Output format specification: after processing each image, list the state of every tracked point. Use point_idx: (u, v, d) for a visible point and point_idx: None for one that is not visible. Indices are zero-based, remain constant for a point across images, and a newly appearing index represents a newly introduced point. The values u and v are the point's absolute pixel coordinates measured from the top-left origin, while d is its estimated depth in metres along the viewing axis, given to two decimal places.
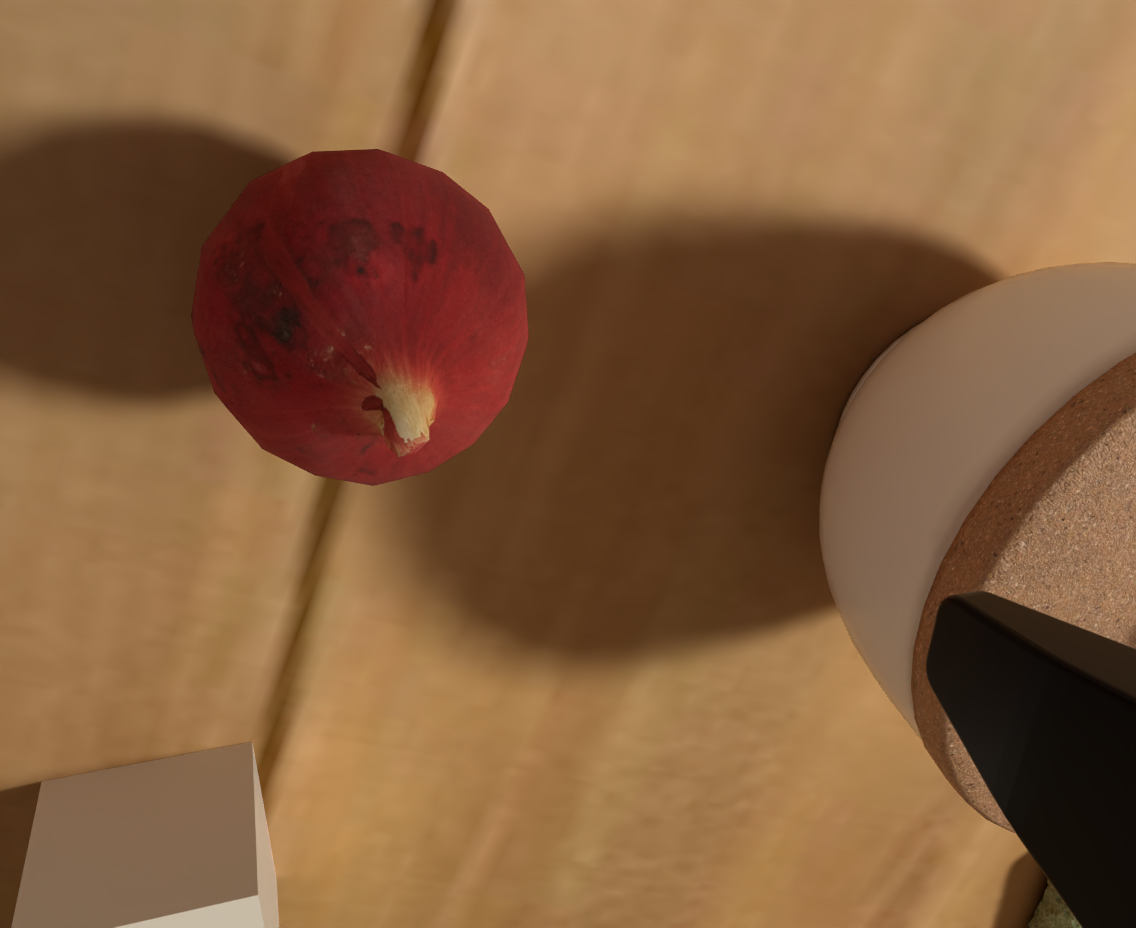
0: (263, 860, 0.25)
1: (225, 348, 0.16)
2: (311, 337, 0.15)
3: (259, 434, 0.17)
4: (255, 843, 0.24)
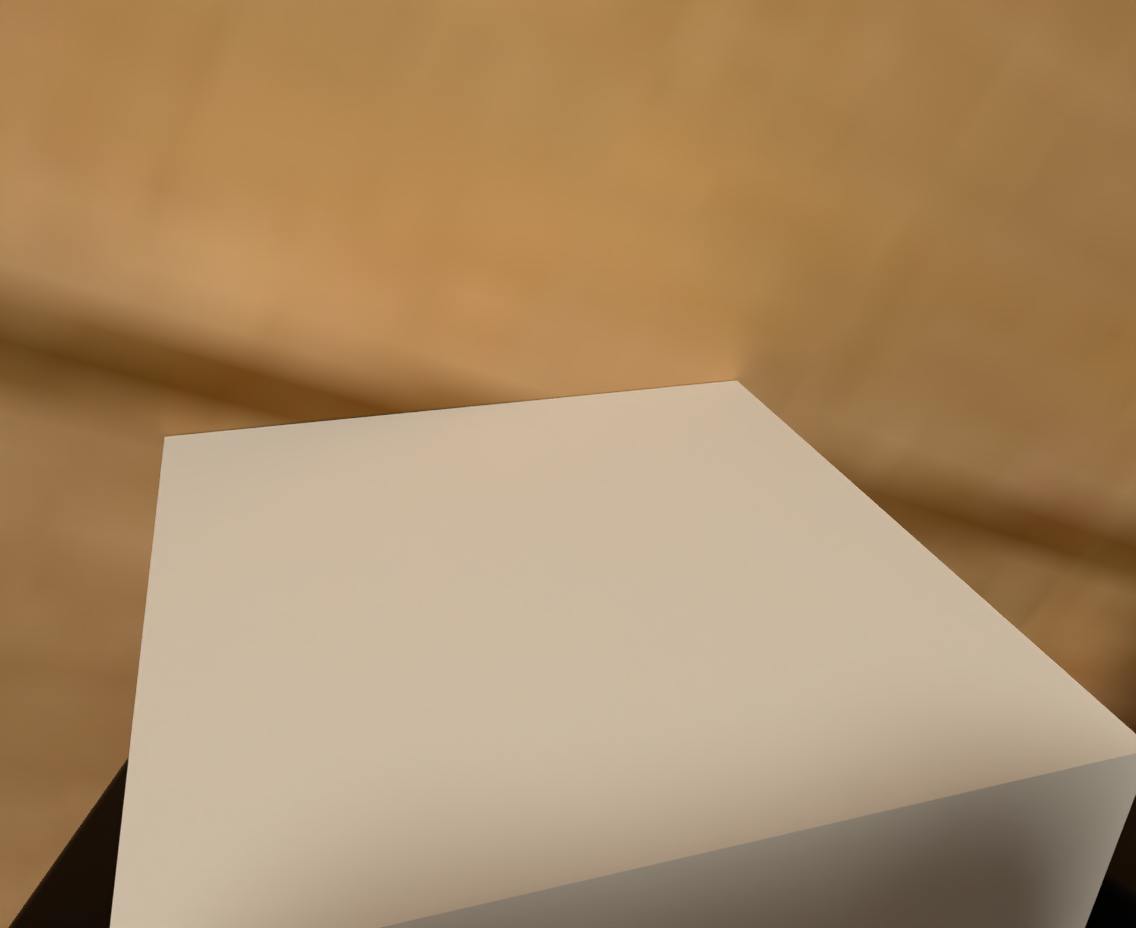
0: (411, 590, 0.06)
1: None
2: None
3: None
4: (137, 732, 0.05)
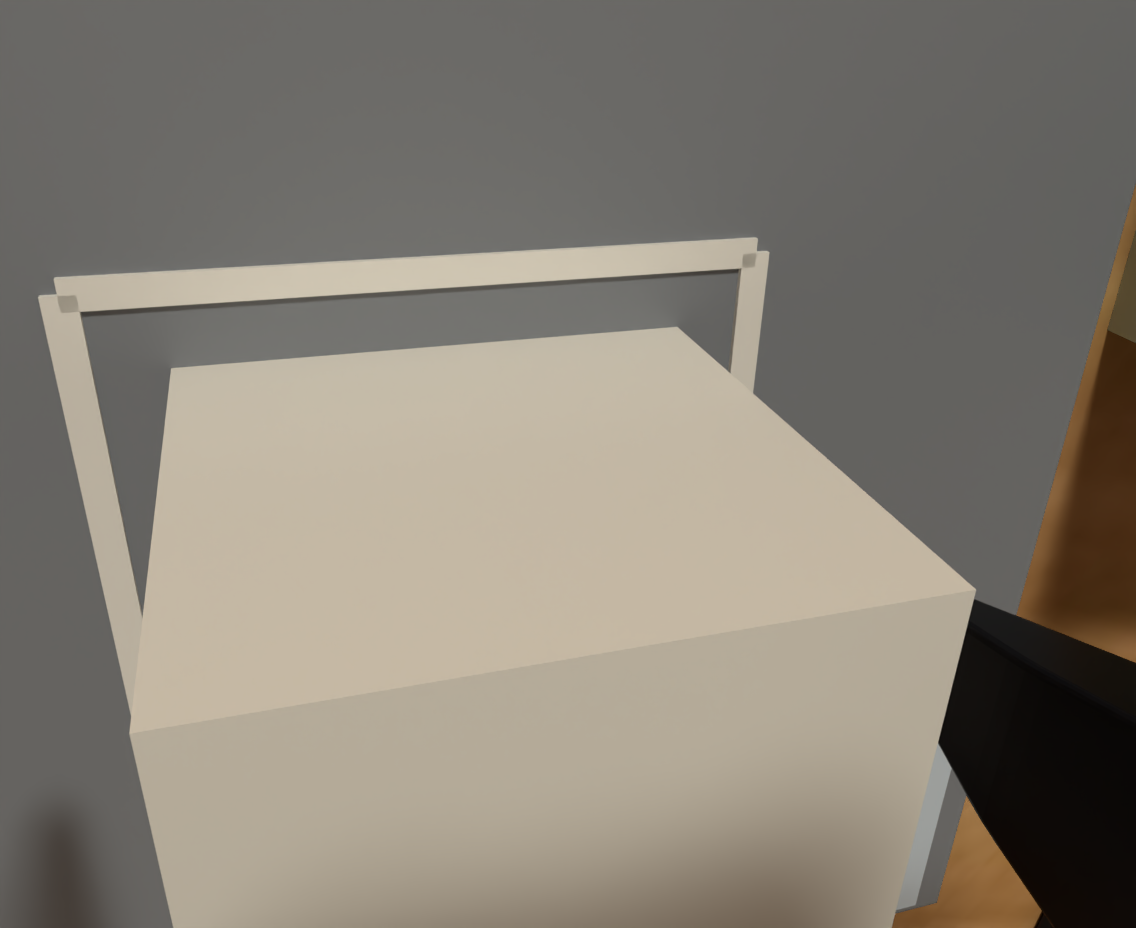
0: (380, 480, 0.08)
1: None
2: None
3: None
4: (152, 575, 0.06)
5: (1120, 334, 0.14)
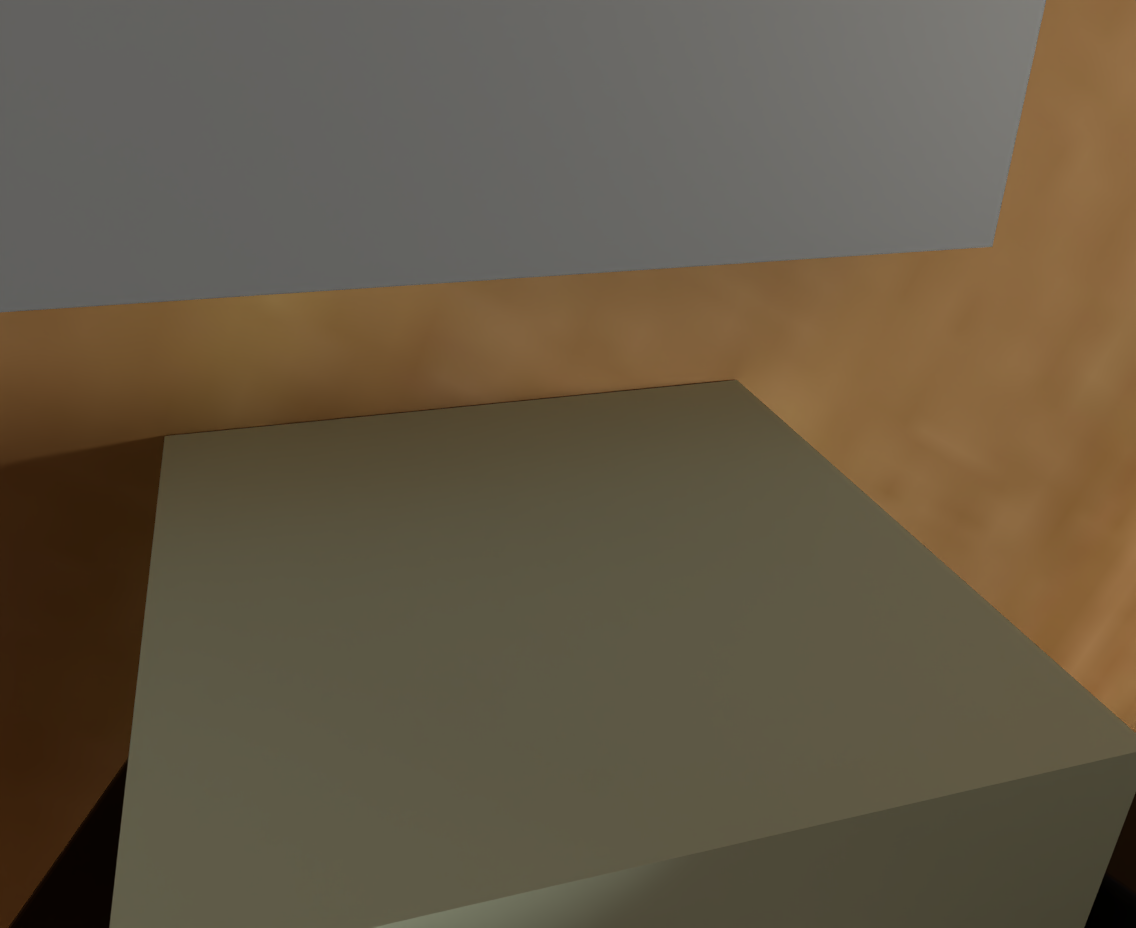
0: None
1: None
2: None
3: None
4: None
5: (165, 453, 0.08)
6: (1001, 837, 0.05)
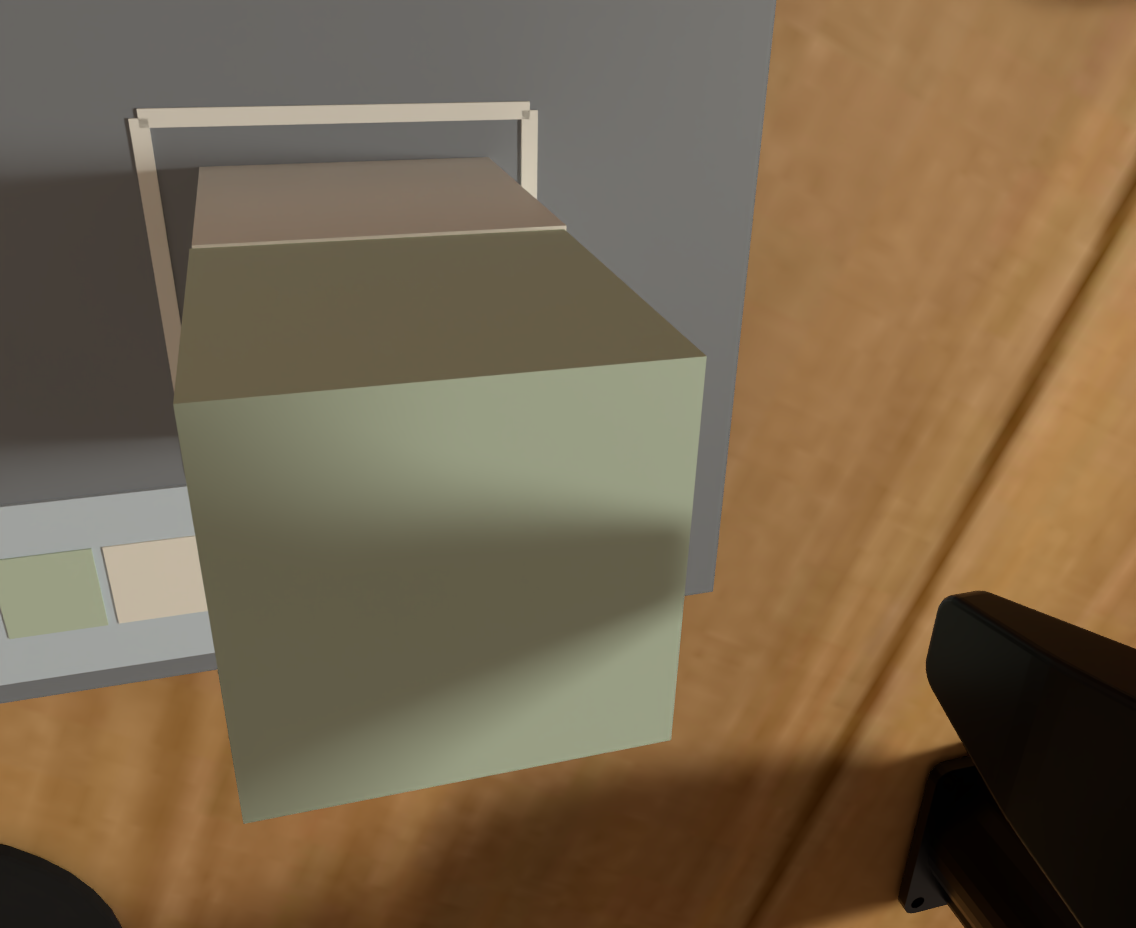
0: None
1: None
2: None
3: None
4: (537, 202, 0.16)
5: (190, 255, 0.13)
6: (627, 401, 0.10)
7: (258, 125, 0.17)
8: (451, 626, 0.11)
